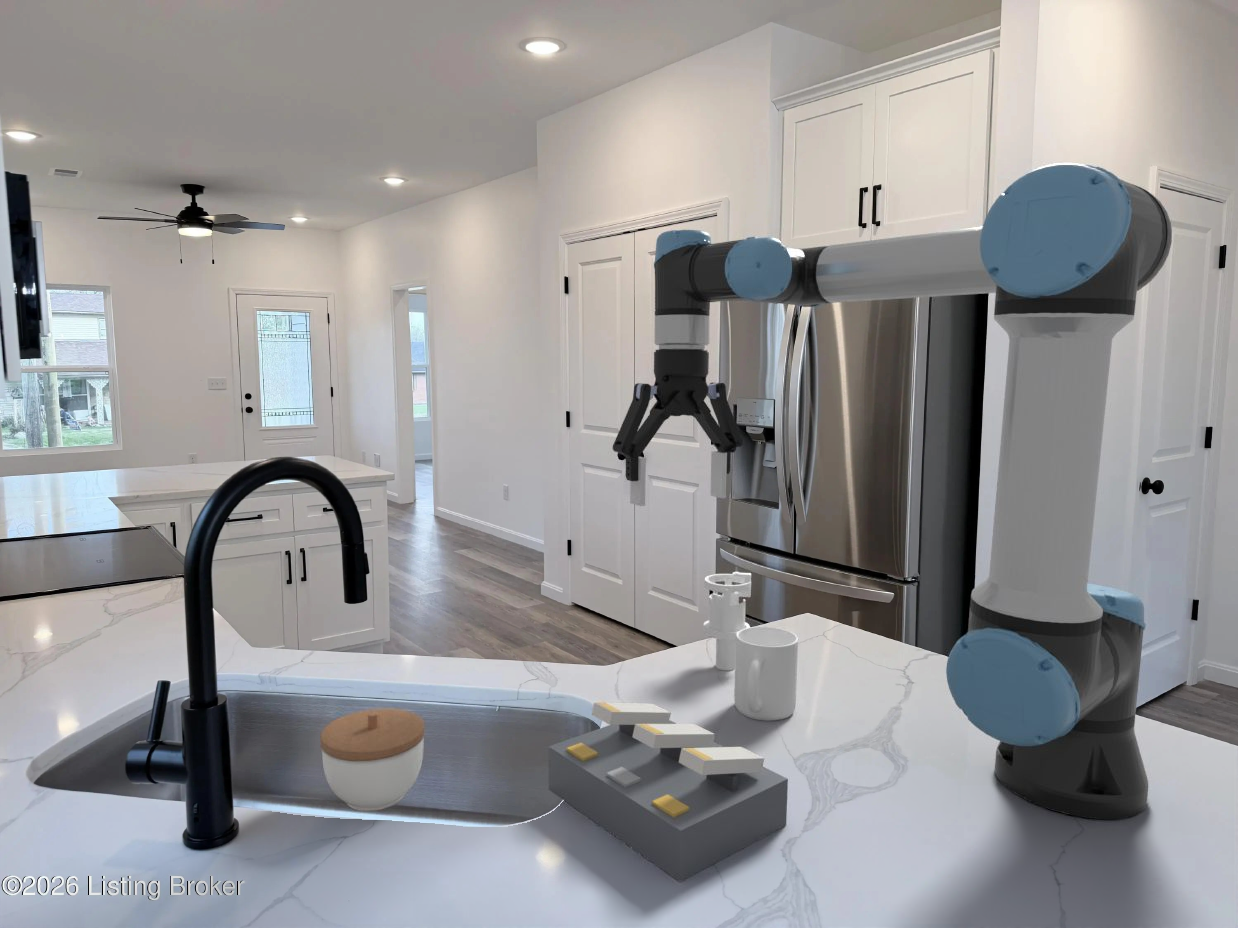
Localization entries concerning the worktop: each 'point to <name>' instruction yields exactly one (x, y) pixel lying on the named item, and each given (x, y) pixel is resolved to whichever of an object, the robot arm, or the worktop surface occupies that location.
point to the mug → (765, 673)
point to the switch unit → (665, 799)
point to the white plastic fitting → (726, 614)
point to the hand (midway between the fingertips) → (679, 500)
